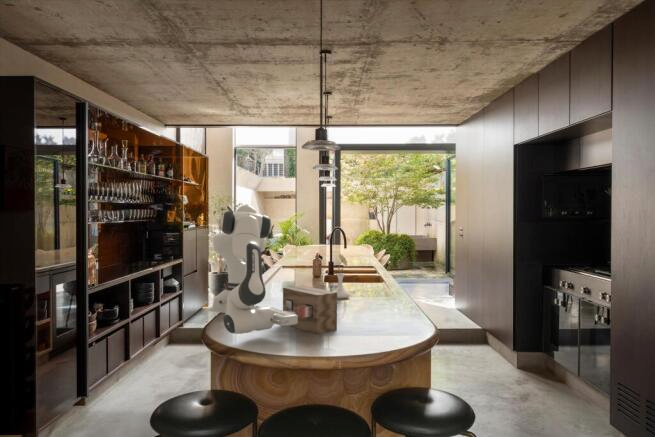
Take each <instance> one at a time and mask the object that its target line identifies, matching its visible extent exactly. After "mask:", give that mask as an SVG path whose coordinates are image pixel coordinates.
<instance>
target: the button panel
mask: <svg viewBox="0 0 655 437" xmlns="http://www.w3.org/2000/svg"><path fill="white" fill-rule="evenodd" d="M286 300H293V312H295V314H296V315H298V306H302V305H313V316H309V317H305V318H303V317H299V316H298V323H297V324H295V325H288V326H289V327H293V328H295V329H300V330H301V331H306V332H308V333H310V334H315V335H320V334H324V333H330V332H335V331H337V330H338V298H337V292H333V291H332V290H326V289H323V288H317V287H312V286H307V285H295V286H286V287H283V288H282V310H283V311H290V310H287V309H286Z"/></svg>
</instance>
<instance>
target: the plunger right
mask: <svg viewBox="0 0 655 437" xmlns="http://www.w3.org/2000/svg"><path fill="white" fill-rule="evenodd" d="M298 316H299V317H303V318H305V317H309V316H313V305H302V306H298Z"/></svg>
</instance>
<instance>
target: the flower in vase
mask: <svg viewBox="0 0 655 437" xmlns="http://www.w3.org/2000/svg"><path fill="white" fill-rule="evenodd" d="M338 257H339V260H340V263H339V264H338V265H339V266H338V267H337V269H338V272H339V273H336V276H337V279H338V282H337V283H338V285H337V288H335V289H334V290H333V291H332V292H337V299H339V300H340V299H341V300H342V299H348V298H350V297H351V294H350V293H349V291H348V290H346V289H345V287H344V286H343V279H344V277H345V273H341V272H342V271H343V270H344V268H340V266H341V264H343V265H344V266H346V267H347V266H348V261H347V260H346V257H344V255H343V254H341V253H339V255H338Z"/></svg>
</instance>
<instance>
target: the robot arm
mask: <svg viewBox="0 0 655 437" xmlns="http://www.w3.org/2000/svg"><path fill="white" fill-rule="evenodd" d="M237 208H238V209H236V211H234V210H228V211H225V212H224V213H223V215H222V216H221V219H220V228H221V231H222V232H221V233H218V234H217V235H216V236H215V237H214V239H213V240H212V241H213V242H212V245H213V248H214V251H215V252H216V253H217V254H219V255H220V256H221V257H222V258H223V260H224V261H225V263H226V267H227V273H228V277H227V280H228V281H227V282H226V283H224V284H223V287H224V290H222V291H221V292H220V293H219V294H217V295H216V296H214V299H213V302H212V305H211V306H210V307H208V310H207V312H214V313H223V314H224V316H223V325H224V327H225V329H226V331H227V332H229V333H231V334H234V335H235V334H236V335H241V334H248V333H251V332H253V331H257V332H258V331H264V330H271V329H272V328H273V327H274V325H278V326H280V327H283V326H286V327H287V326H289V325H295V324H297V323H298V315H296V314H295V312H293V311H283V309H279V308H275V307H272V306H269V305H266V306H258V305H257V304H259V303H261V302H262V301H263V300H264V298H265V296H266V292H267V291H266V287H265V283H264V280H263V265H262V263H263V261H262V252H264V250H265V248H266V245H267V242H266V238H267V237H269V236H270V233H271V231H272V229H273V228H272V227H273V226H272V220H271V218H270V217H269V216H268V215H265V214H258V213H257V210H256V208H254V206H252V205H249V204H243V205H240V206H239V207H237ZM256 305H257V306H256Z"/></svg>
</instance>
